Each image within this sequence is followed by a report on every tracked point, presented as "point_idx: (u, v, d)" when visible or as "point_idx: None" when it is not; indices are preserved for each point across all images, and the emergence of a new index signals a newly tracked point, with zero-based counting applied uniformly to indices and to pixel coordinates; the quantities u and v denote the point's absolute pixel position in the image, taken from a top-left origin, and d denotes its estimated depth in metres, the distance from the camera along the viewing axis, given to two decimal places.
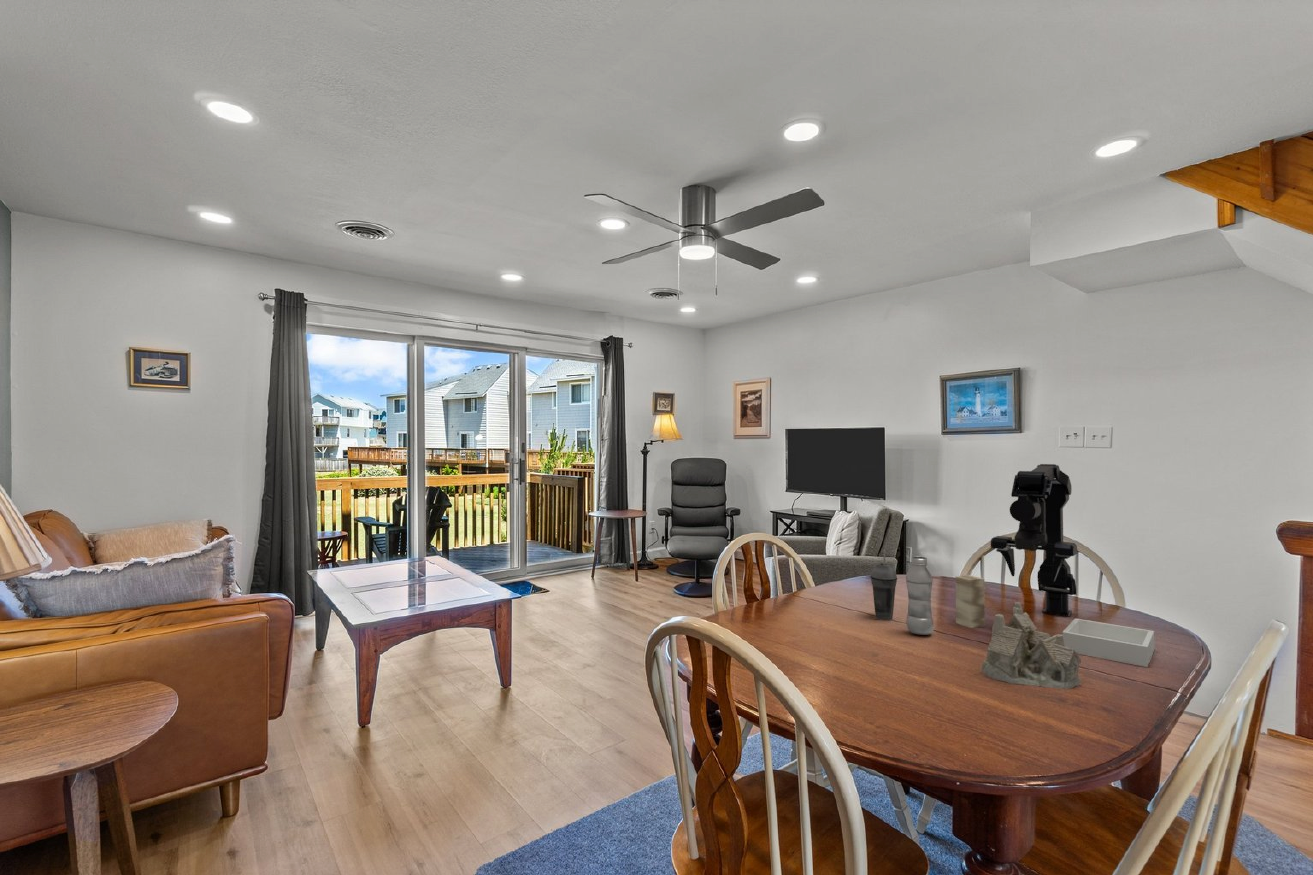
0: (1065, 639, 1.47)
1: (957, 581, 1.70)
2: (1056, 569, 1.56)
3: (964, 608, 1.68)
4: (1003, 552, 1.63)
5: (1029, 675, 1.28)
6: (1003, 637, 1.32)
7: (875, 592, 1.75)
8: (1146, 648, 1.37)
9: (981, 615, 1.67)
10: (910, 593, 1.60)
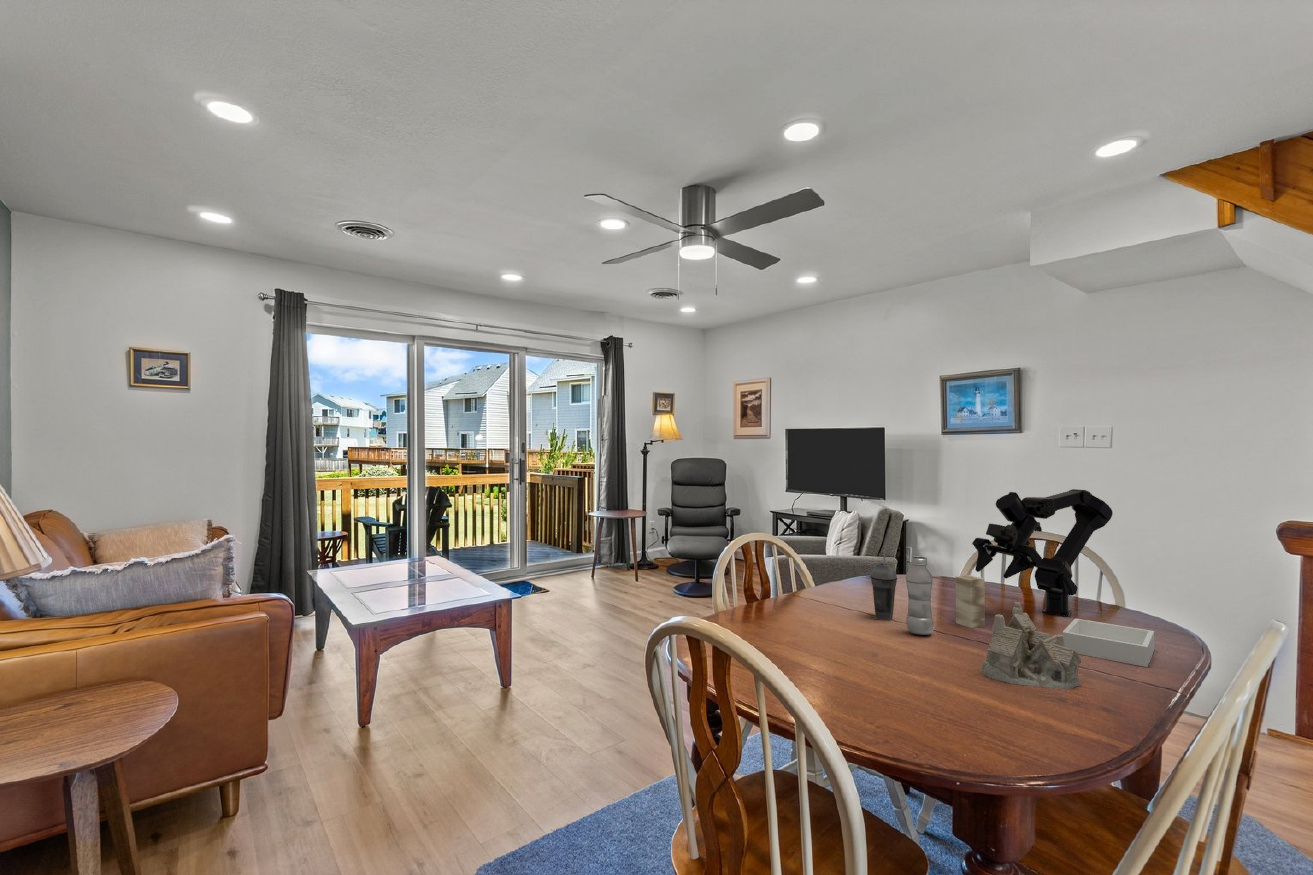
0: (1065, 639, 1.47)
1: (957, 581, 1.70)
2: (1011, 566, 1.67)
3: (964, 608, 1.68)
4: (978, 547, 1.78)
5: (1029, 675, 1.28)
6: (1003, 638, 1.32)
7: (875, 592, 1.75)
8: (1146, 648, 1.37)
9: (981, 615, 1.67)
10: (910, 593, 1.60)
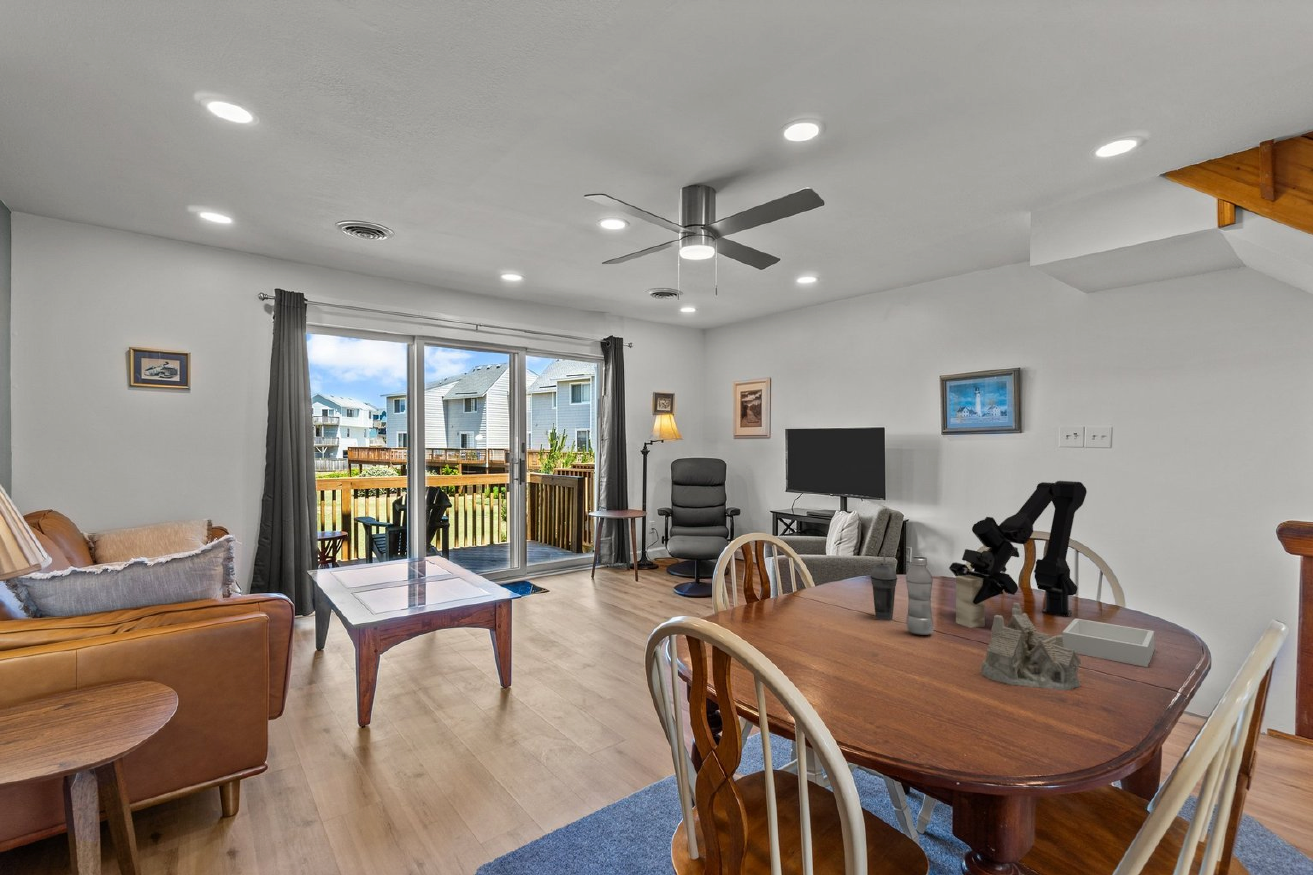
0: (1065, 639, 1.47)
1: (957, 581, 1.70)
2: (981, 592, 1.66)
3: (964, 608, 1.68)
4: (960, 573, 1.74)
5: (1029, 676, 1.27)
6: (1002, 638, 1.31)
7: (875, 592, 1.75)
8: (1146, 648, 1.37)
9: (981, 615, 1.67)
10: (910, 593, 1.60)
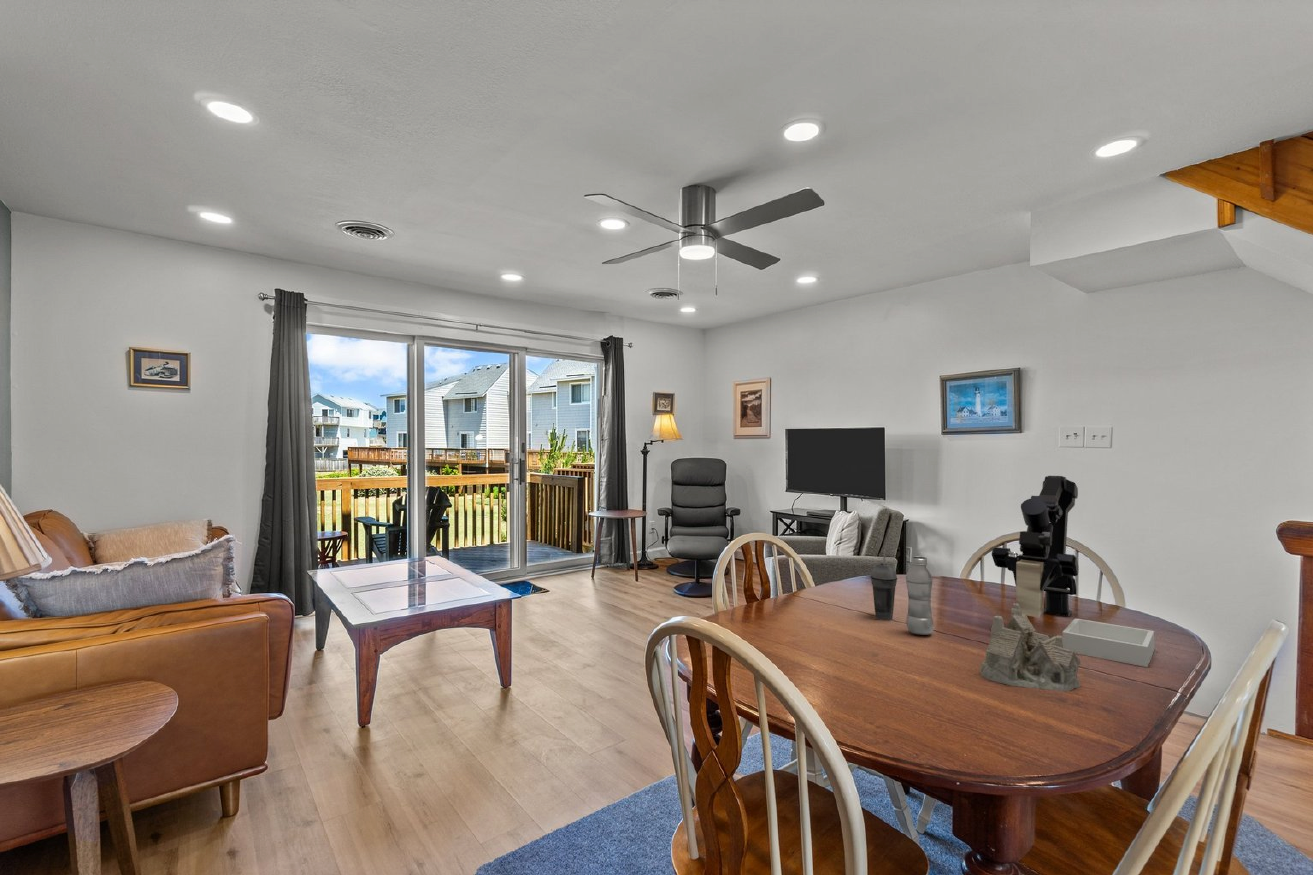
0: (1065, 639, 1.47)
1: (1019, 567, 1.55)
2: (1046, 576, 1.53)
3: (1030, 596, 1.53)
4: (1012, 559, 1.60)
5: (1029, 677, 1.27)
6: (1002, 639, 1.31)
7: (875, 592, 1.75)
8: (1146, 648, 1.37)
9: (1042, 602, 1.55)
10: (910, 593, 1.60)
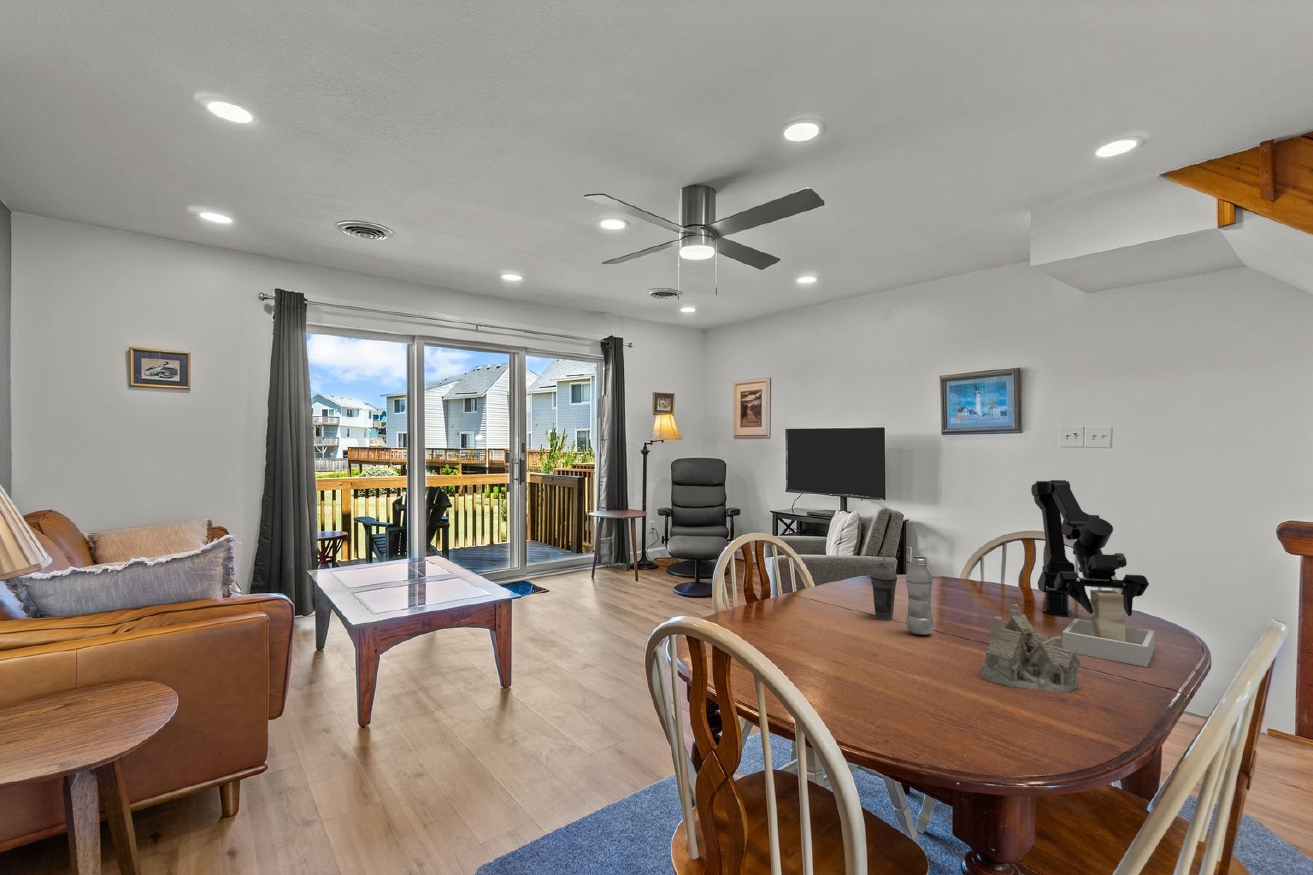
0: (1065, 639, 1.47)
1: (1102, 599, 1.46)
2: (1131, 600, 1.47)
3: (1115, 629, 1.45)
4: (1079, 583, 1.51)
5: (1028, 678, 1.26)
6: (1002, 640, 1.30)
7: (875, 592, 1.75)
8: (1146, 648, 1.37)
9: None
10: (910, 593, 1.60)
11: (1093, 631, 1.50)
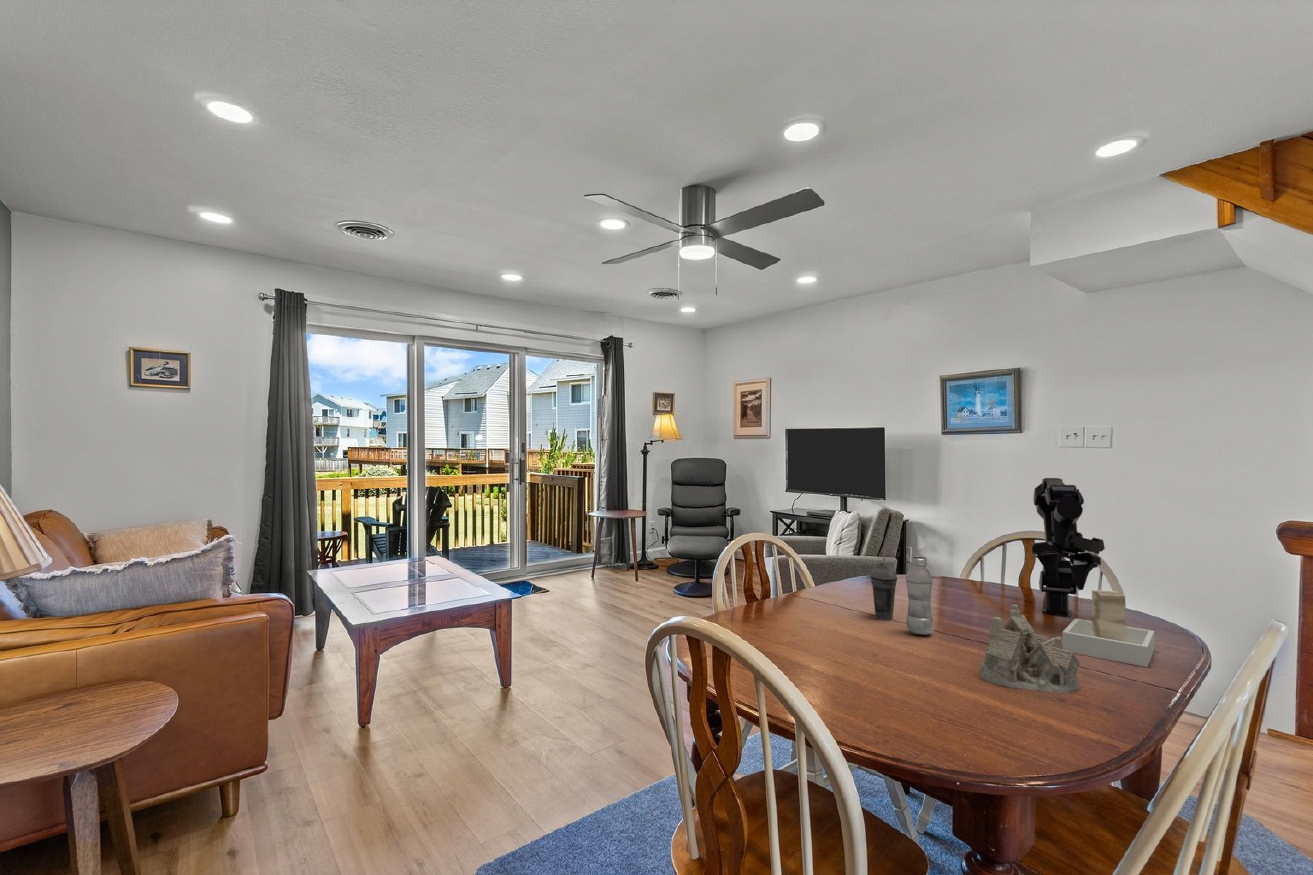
0: (1065, 639, 1.47)
1: (1103, 600, 1.46)
2: (1086, 577, 1.64)
3: (1116, 630, 1.45)
4: (1059, 557, 1.60)
5: (1028, 679, 1.26)
6: (1001, 640, 1.30)
7: (875, 592, 1.75)
8: (1146, 648, 1.37)
9: None
10: (910, 593, 1.60)
11: (1093, 631, 1.50)
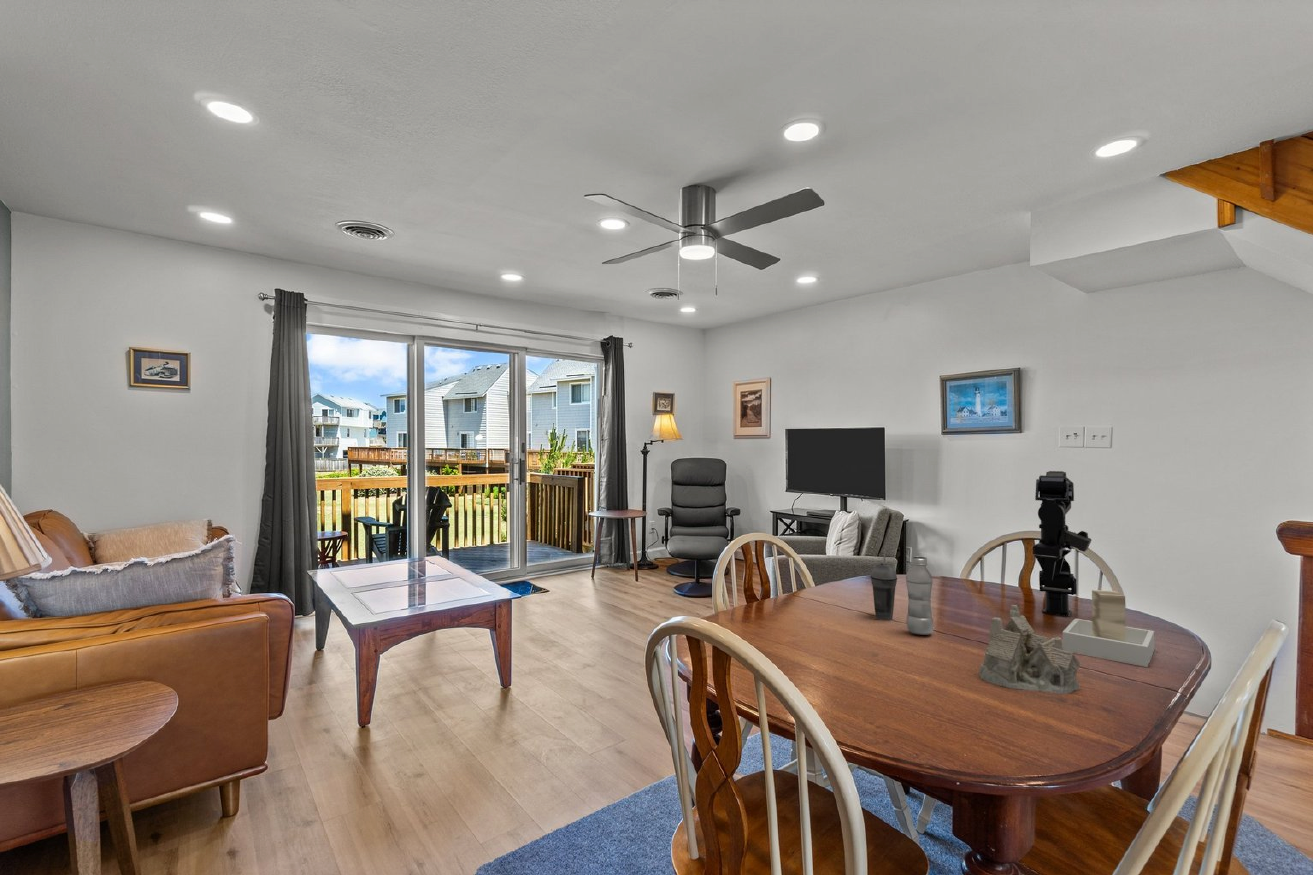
0: (1065, 639, 1.47)
1: (1103, 600, 1.46)
2: (1062, 563, 1.72)
3: (1116, 630, 1.45)
4: (1059, 558, 1.62)
5: (1028, 679, 1.25)
6: (1001, 641, 1.29)
7: (875, 592, 1.75)
8: (1146, 648, 1.37)
9: None
10: (910, 593, 1.60)
11: (1093, 631, 1.50)
